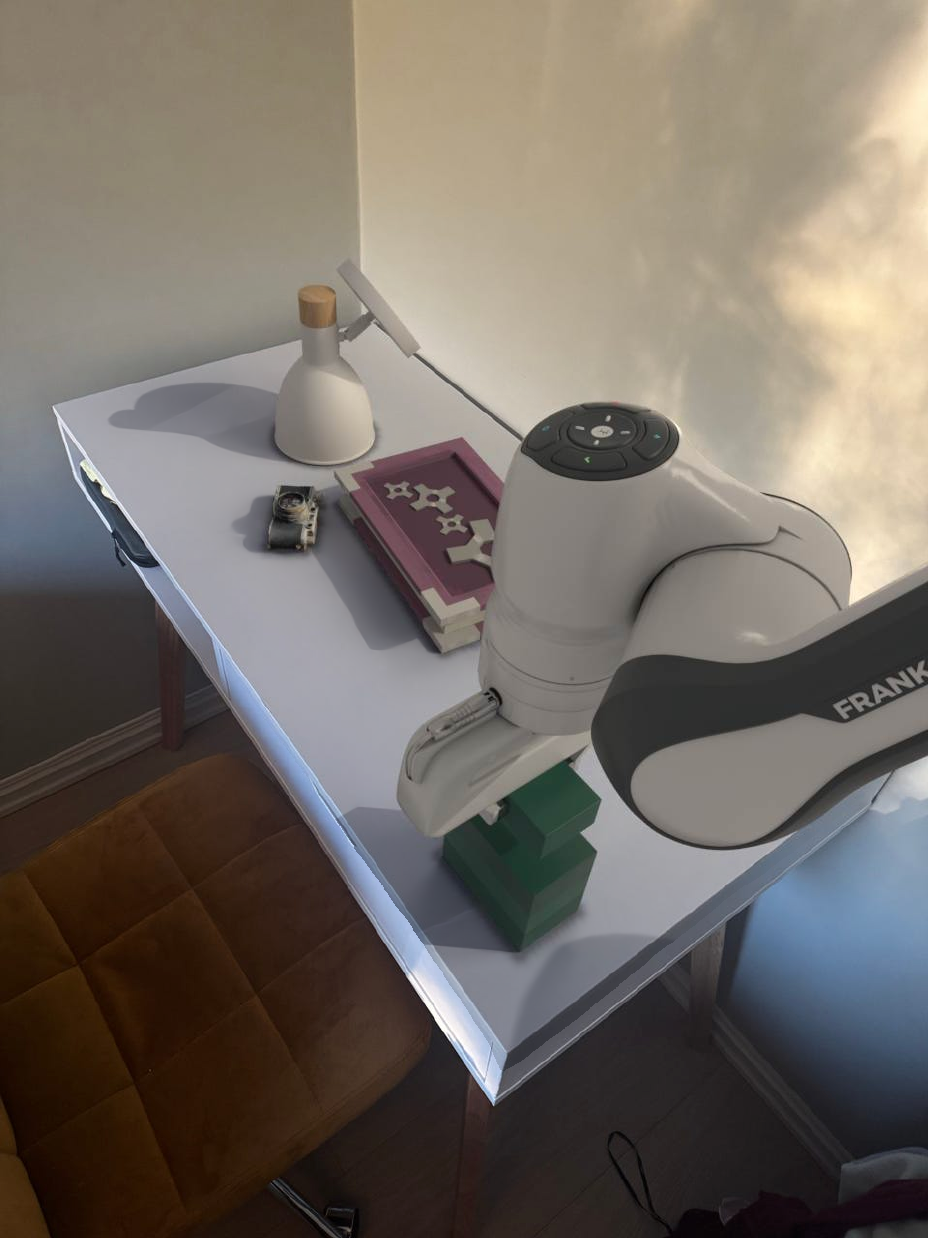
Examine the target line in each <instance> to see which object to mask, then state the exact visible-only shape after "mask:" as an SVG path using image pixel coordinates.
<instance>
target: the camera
mask: <svg viewBox="0 0 928 1238" xmlns="http://www.w3.org/2000/svg"><path fill="white" fill-rule="evenodd" d="M323 498H324V495H323V490H317V489H316V487H315V486H314V485H313V486H311V485H286V484H285V485H282V484H278V485H276V490H275V493H274V497H273V502H272V513H271V515H272V516H271V517H272V518H271V521H270V523H269V526H268V530H267V544H266V545H267V546H266V548H267V549H269V550H295V551H301V552H302V551H304V552H305V551H306V549H307V546H308V545H312V546H313V545H315V543H316V540H317V533H318V532H317V531H318V523H320V521H319V520H320V518H319V517H320V506H319V504H318V503H322V502H323Z"/></svg>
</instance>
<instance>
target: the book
mask: <svg viewBox="0 0 928 1238" xmlns="http://www.w3.org/2000/svg"><path fill="white" fill-rule="evenodd" d="M333 478H334V479H335V480H336V481H337V483H338V484H339V486H340V488H342V490H343V491H344V493H345V494H346V495H343V496H339V497H337V499H338V500H337V502H338V506H339V507H340V509H341V510H342V512H343V513H344V515H345V516H346V517H347V519H348V520H349V522H350V523H351V524H352V526H353V527H355V528H356V530H357V532H358V533H359V535H360V536H361V537H362V539H363V540H364V542H365V543H366V545H367V546H368V547H369V549H370V551H371V552H372V554H374V556H375V558H376V559H377V560H378V562H379V563H380V565H381V566H382V567H383V569H384V570H385V572H386V573H387V574H388V576H389V578H390V579H391V580H392V582H393V583H394V585H395V586H396V588H397V589H398V591H399V592H400V593H401V595H402V596H403V598H404V599H405V601H406V602H407V603H408V605H409V606H410V608H411V609H412V611H413V612H414V614H415V615H416V617H417V618H418V619H419V621H420V622H421V624H422V627H423V628H424V630H425V632H426V633H427V634H428V636H429V637H430V639H431V640H432V642H433V643H434V645H435V646H436V647H437V649H438V651H439V652H440V653H441V654H444V653H448V652H449V651H452V650H455V649H458V648H460V647H463V646H467V645H469V644H472V643H474V642H477V641H481V639H482V630H483V623H484V613H485V608H486V604H487V601H488V598H489V596H490V594H491V592H492V590H493V588H494V587H495V582H494V579H493V575H492V568H491V554H492V546H493V539H494V532H495V526H496V520H497V515H498V510H499V505H500V500H501V495H502V491H503V486H504V483H505V482H504V481H502V479H501V478H500V477H499V476H498V475H497V474H496V473H495V472H494V470H493V469H492V468H491V467H490V466H489V465H488V464H487V462H485V460H484V459H483V458H482V457H481V456H480V455H479V454H478V452H477V451H476V450H475V449H474V448H473V447H472V446H471V445H470V444H469V443H468V442H467V440H466V439H465V438H464V437H462V436H461V437H457V438H453V439H449V440H445V441H442V442H438V443H435V444H431V445H430V444H429V445H427V446H424V447H423V446H422V447H419V448H416V449H413V450H407V451H404V452H401V453H397V454H393V455H390V456H386V457H381V458H378V459H374V460H365V461H362V462H358V463H354V464H350V465H346V466H342V467H339V468H335V469H333Z"/></svg>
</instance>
